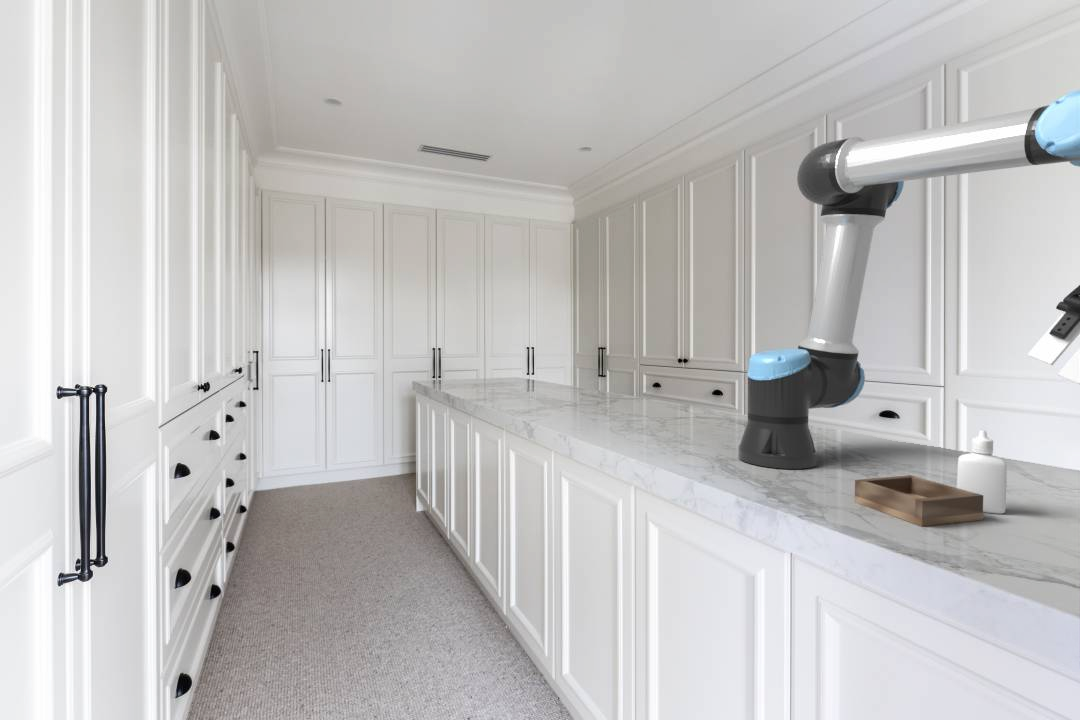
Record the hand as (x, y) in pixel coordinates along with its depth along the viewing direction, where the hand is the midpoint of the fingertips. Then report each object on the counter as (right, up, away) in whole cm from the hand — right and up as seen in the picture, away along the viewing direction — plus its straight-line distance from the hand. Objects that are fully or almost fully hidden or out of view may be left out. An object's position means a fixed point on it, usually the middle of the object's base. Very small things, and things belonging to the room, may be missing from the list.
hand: (1054, 370), depth 72 cm
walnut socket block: (-16, -21, +5) cm, 27 cm away
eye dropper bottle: (-6, -21, +5) cm, 23 cm away
